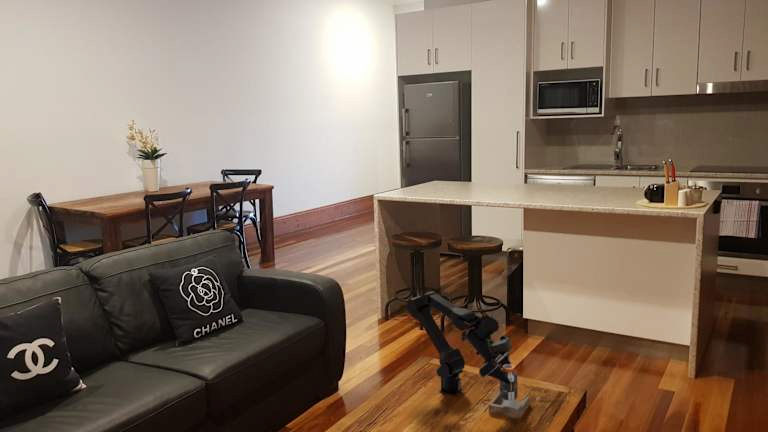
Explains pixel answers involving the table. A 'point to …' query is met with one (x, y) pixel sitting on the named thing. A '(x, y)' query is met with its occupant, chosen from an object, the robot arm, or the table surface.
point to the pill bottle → (510, 389)
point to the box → (508, 407)
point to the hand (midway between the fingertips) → (512, 379)
